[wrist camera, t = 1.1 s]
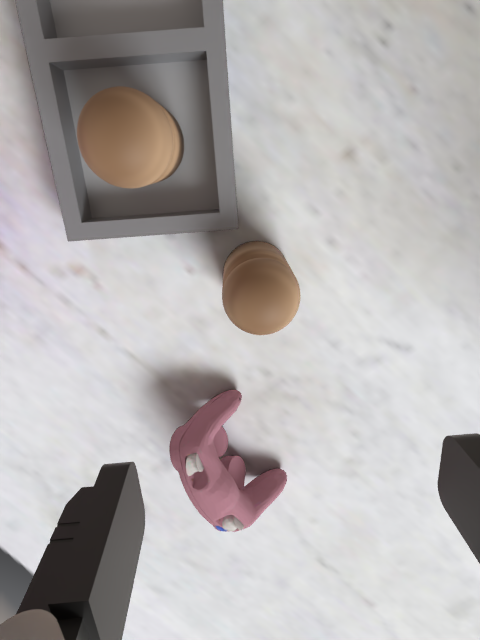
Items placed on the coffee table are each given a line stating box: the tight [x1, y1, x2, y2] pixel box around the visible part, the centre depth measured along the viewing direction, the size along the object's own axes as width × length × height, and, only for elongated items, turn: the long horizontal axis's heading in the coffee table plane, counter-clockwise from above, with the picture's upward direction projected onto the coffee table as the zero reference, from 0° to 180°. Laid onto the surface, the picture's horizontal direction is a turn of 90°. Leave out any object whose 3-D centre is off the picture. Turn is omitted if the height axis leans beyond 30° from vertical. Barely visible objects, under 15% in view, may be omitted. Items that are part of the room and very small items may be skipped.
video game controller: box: [170, 390, 287, 532], centre depth 31 cm, size 10×5×7 cm, turn 26°
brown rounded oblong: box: [222, 241, 300, 335], centre depth 25 cm, size 4×4×7 cm
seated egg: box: [77, 86, 184, 188], centre depth 21 cm, size 4×4×7 cm
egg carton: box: [15, 0, 238, 241], centre depth 22 cm, size 10×19×3 cm, turn 4°
